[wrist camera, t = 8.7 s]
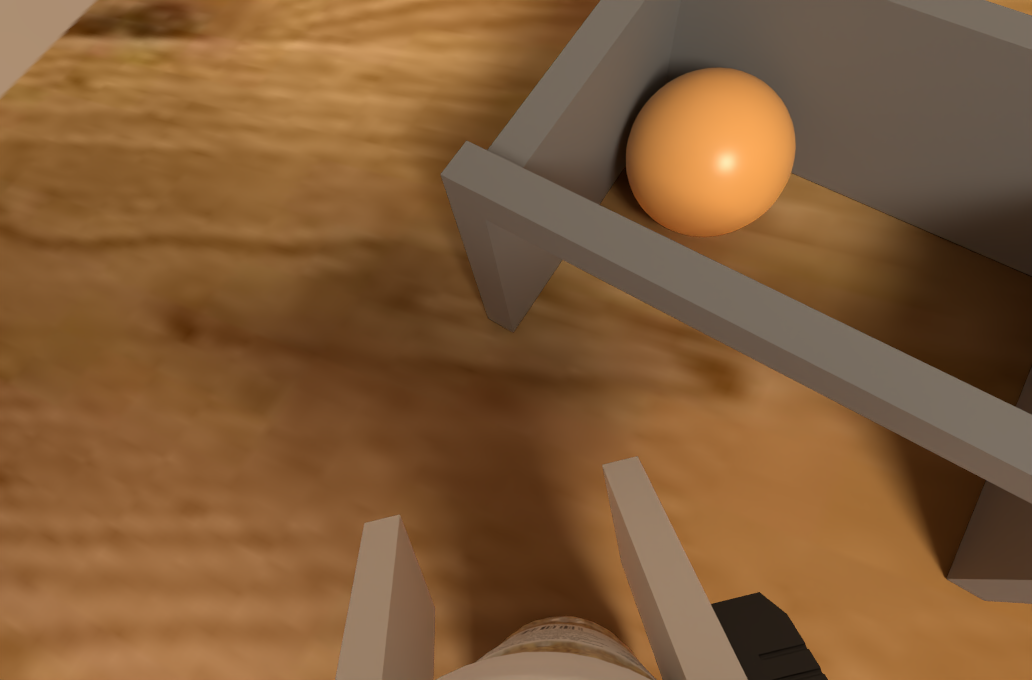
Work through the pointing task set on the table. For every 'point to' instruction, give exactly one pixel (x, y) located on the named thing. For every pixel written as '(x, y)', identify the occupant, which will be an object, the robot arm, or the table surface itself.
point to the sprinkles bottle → (556, 655)
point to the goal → (818, 157)
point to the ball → (710, 152)
